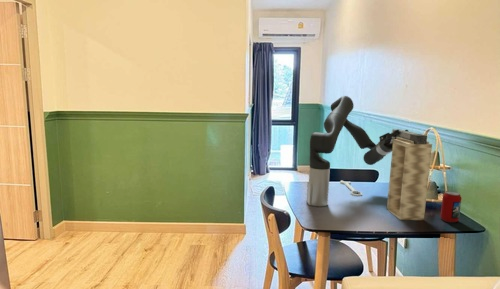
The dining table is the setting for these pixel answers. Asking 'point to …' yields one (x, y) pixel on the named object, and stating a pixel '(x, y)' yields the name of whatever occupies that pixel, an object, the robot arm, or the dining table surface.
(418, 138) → the gray block
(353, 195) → the wrench
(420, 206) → the beige patterned box
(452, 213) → the beverage can
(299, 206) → the dining table surface
